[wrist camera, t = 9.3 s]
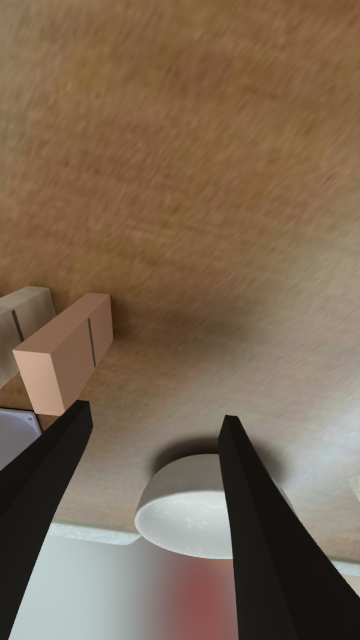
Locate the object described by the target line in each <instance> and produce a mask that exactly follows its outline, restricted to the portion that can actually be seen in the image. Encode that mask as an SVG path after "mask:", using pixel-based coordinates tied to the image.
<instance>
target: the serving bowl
mask: <svg viewBox="0 0 360 640" xmlns="http://www.w3.org/2000/svg"><path fill="white" fill-rule="evenodd" d="M270 477H271V476H270ZM271 478H272V477H271ZM272 480H273V481H274V483H275V485H276V486H277V488H278V489H279V491H280V492H281V494H282V495H283V497H284V499H285V500H286V502H287V503H288V504H289V506H290V507H291V509H292V510H293V512H294V513H295V511H294V509H293V506H292V504H291V503H290V501H289V499H288V497H287V496H286V494H285V493H284V491H283V490H282V488H281V487H280V486H279V485H278V483H277V482H276V481H275V480H274V479H273V478H272ZM295 515H296V513H295ZM296 516H297V515H296ZM135 525H136V528H137V530H138V531H139V532H140V534H141V535H142V536H143V537H145V538H146V539H147V540H148V541H150V542H152V543H153V544H155V545H158V546H160V547H162V548H165V549H167V550H170V551H174V552H177V553H181V554H185V555H189V556H195V557H202V558H212V559H233V556H232V545H231V533H230V525H229V518H228V512H227V506H226V500H225V493H224V487H223V481H222V475H221V469H220V462H219V454H199V455H192V456H187V457H184V458H181V459H178V460H176V461H173V462H171V463H169V464H168V465H166V466H165V467H163V468H162V469H161V470H159V471H158V472H157V473H156V474H155V475H154V476H153V478H152V479H151V480H150V481H149V483H148V484H147V486H146V488H145V489H144V491H143V494H142V496H141V499H140V501H139V504H138V507H137V510H136V514H135Z"/></svg>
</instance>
